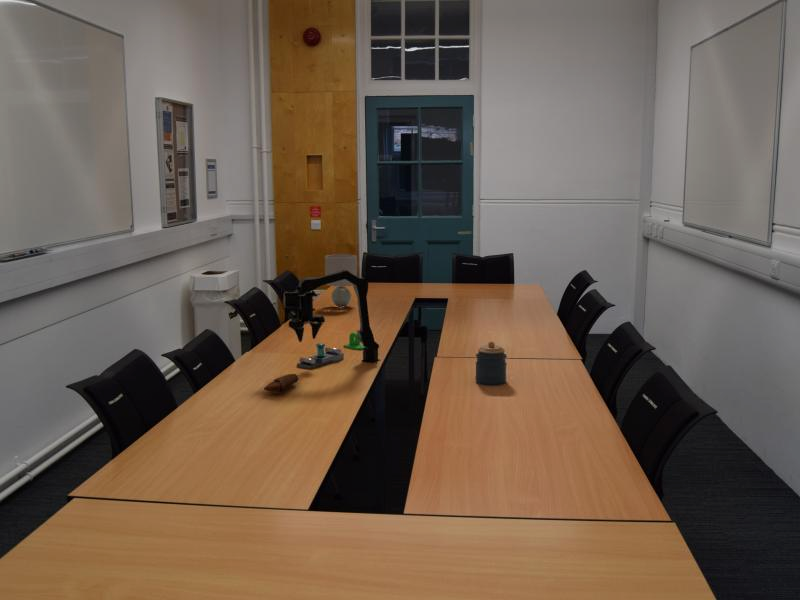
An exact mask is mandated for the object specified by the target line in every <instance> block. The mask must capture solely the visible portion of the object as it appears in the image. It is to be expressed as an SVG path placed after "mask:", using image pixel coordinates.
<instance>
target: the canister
mask: <svg viewBox="0 0 800 600" xmlns="http://www.w3.org/2000/svg"><path fill="white" fill-rule="evenodd" d="M487 343H488V344H486V345H485V344H484V345H481V346H480V347H478V348H477V353H476V354H475V357H476V361H475V377H474V378H475V379H474V380H475V383H476V384H478V385H482V386H489V387H490V386H491V387H494V386H495V387H496V386H502V385H505V384H506V382H507V364H508V363H507V362H506V360H507V356H508V355H507V354H506V353H505V352H506V350H505V348H503V347H502V346H501V345H496V344H495V342H494V341H489V342H487Z"/></svg>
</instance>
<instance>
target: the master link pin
mask: <svg viewBox="0 0 800 600" xmlns="http://www.w3.org/2000/svg"><path fill="white" fill-rule="evenodd" d="M315 347H317V350H316V351H317V354H316V355H317V358H324V353H325V348H326V343H322V342H319V343H316V345H315Z"/></svg>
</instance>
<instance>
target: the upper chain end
mask: <svg viewBox="0 0 800 600" xmlns="http://www.w3.org/2000/svg"><path fill="white" fill-rule="evenodd" d="M344 355H345V354H344V352H342V350H341V348H340V349H339V348H335V347H329V346H327V347H326V346H325V347H324V358H317V354H316V355H312V356H309V357H307V358H309V359H315V360H316V362H321V363H322V362H326V361H329V360H333V363H336V362H338V361H342V360H344V359H345V358H344V357H345V356H344Z"/></svg>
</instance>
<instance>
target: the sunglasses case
mask: <svg viewBox="0 0 800 600" xmlns="http://www.w3.org/2000/svg"><path fill="white" fill-rule="evenodd" d="M298 381H299V377H298V375H297V374H296V373H290V374H285V375H282V376H279V377H277V378H275V379H273V381H271V382H269V383H268V384H267V385H266V386H264V388H263V390H264V391H266V392H270V393H273V394H278V395H279V394H281V393H283V392H284V391H285V390H286V389H288V388H289V387H291V386H292V385H294V384H295V383H297V382H298Z"/></svg>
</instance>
